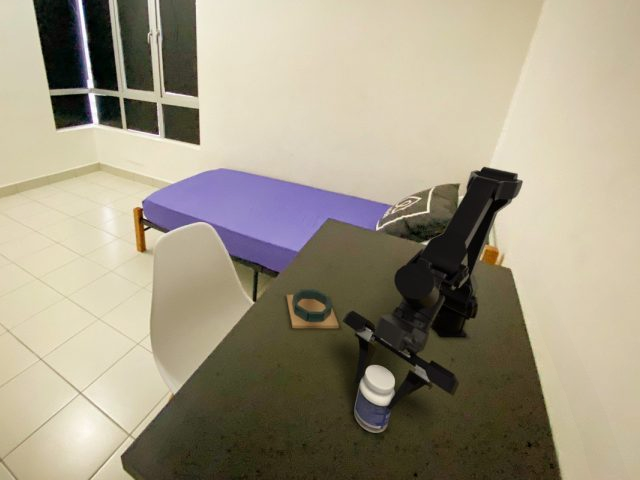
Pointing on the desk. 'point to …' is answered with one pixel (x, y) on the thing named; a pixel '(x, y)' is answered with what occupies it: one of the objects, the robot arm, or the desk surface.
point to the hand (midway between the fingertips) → (372, 395)
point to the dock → (311, 310)
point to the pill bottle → (374, 399)
